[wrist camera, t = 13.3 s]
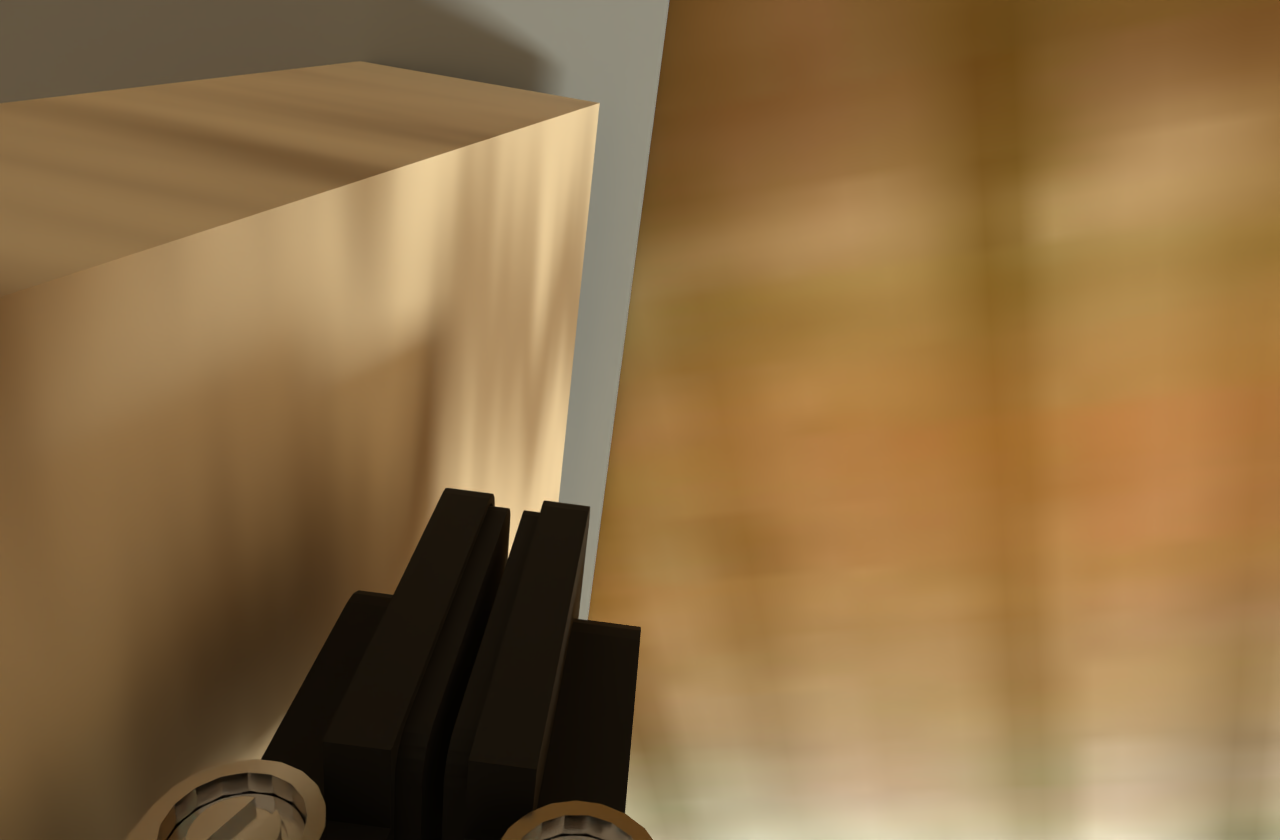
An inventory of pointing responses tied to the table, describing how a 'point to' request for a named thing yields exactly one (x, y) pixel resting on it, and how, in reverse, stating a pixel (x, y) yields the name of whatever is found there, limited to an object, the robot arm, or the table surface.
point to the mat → (421, 41)
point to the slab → (254, 393)
